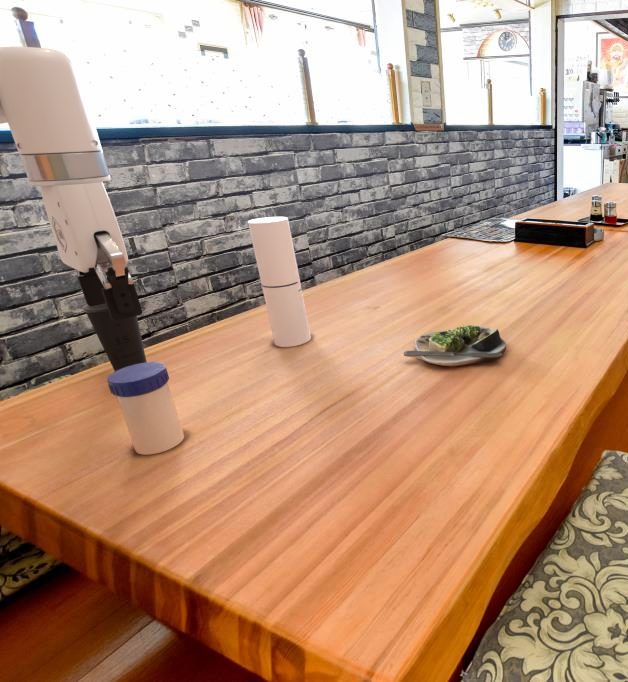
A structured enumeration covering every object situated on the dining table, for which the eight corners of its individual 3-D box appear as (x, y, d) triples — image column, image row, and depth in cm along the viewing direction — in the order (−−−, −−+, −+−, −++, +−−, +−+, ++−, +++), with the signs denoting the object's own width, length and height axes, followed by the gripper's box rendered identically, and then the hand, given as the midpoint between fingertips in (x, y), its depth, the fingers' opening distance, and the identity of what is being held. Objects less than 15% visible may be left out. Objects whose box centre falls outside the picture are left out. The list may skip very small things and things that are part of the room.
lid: (104, 401, 68) (99, 387, 67) (119, 379, 74) (114, 367, 73) (164, 390, 70) (159, 377, 70) (173, 371, 76) (169, 358, 75)
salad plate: (411, 380, 91) (408, 356, 90) (397, 343, 107) (394, 322, 105) (516, 362, 97) (516, 339, 95) (489, 330, 113) (487, 309, 111)
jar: (130, 458, 72) (105, 389, 68) (141, 436, 77) (118, 371, 73) (180, 448, 74) (158, 380, 70) (187, 427, 79) (167, 363, 75)
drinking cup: (100, 375, 97) (61, 270, 90) (145, 360, 103) (113, 260, 96) (118, 385, 93) (79, 275, 86) (164, 369, 99) (131, 265, 92)
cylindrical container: (266, 344, 109) (239, 222, 100) (291, 332, 115) (267, 216, 106) (294, 348, 107) (268, 223, 97) (318, 336, 113) (296, 217, 103)
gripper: (9, 170, 64) (60, 305, 70) (46, 175, 53) (101, 333, 60) (84, 165, 69) (125, 292, 75) (131, 169, 59) (173, 315, 65)
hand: (114, 310), depth 68 cm, fingers open, 9 cm apart
